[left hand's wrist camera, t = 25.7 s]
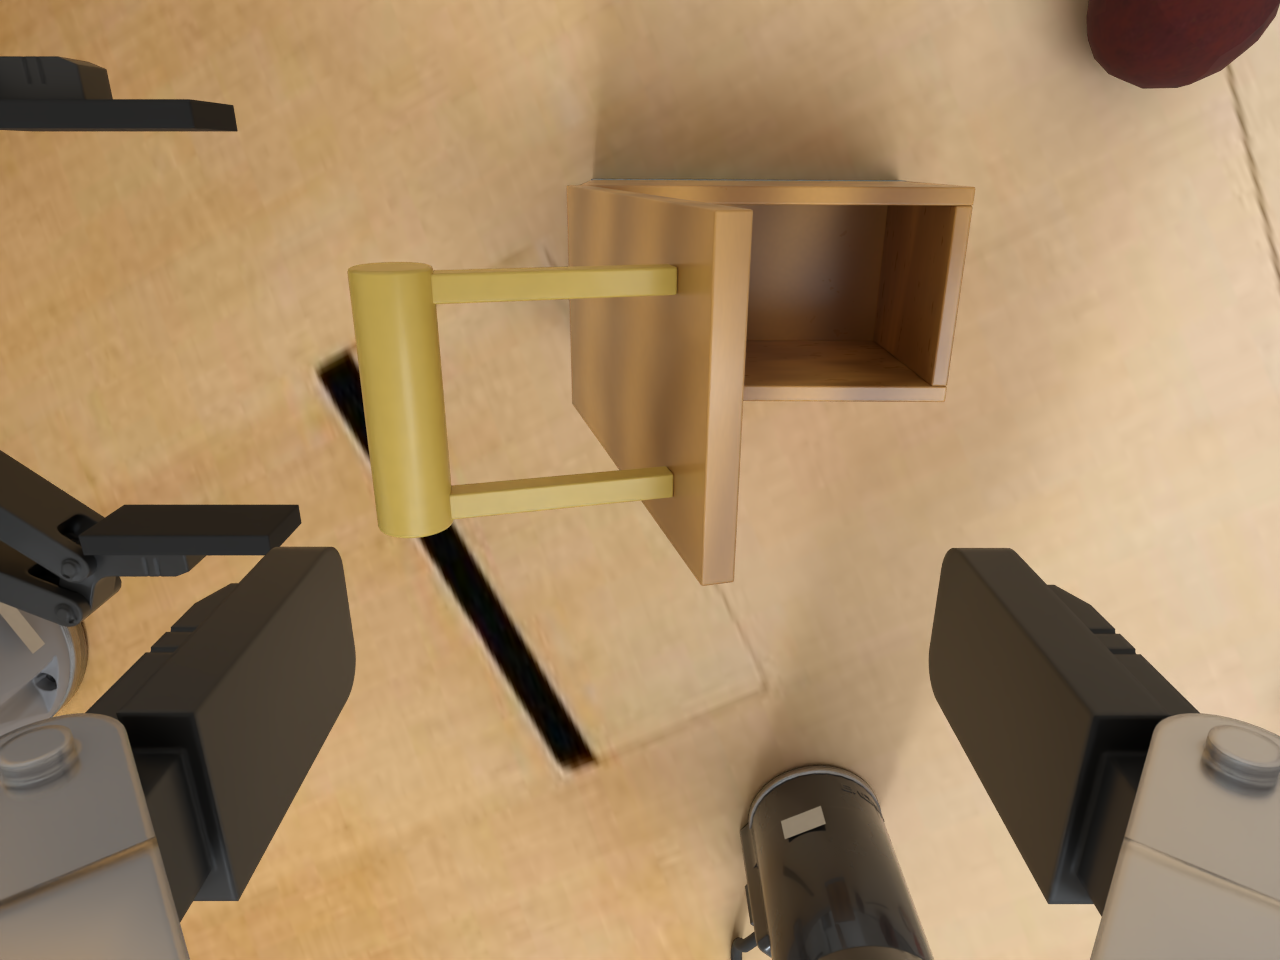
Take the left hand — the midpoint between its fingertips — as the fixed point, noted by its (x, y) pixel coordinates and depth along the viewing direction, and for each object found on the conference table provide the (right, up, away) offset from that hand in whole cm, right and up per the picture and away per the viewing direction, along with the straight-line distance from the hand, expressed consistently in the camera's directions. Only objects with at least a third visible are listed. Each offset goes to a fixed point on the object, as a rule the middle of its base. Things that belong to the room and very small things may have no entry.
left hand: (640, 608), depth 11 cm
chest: (+6, +13, +35) cm, 37 cm away
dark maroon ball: (+25, +25, +30) cm, 46 cm away
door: (0, +6, +16) cm, 18 cm away
